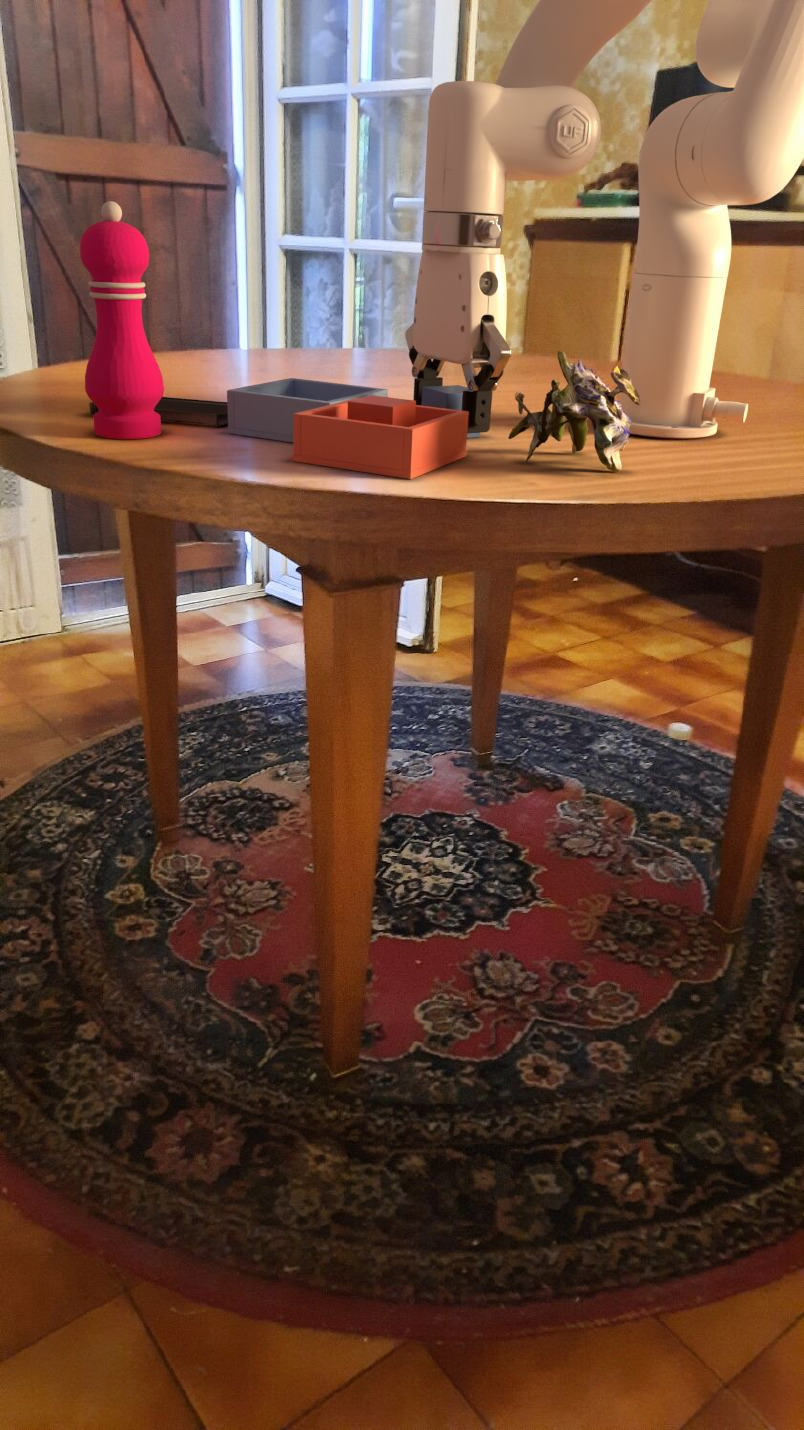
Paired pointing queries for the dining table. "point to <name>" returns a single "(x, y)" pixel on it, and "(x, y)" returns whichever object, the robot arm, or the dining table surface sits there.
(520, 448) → the dining table surface
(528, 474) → the dining table surface
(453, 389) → the blue block
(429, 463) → the red bin
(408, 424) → the red block
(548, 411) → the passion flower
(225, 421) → the phone
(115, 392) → the pepper mill
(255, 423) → the blue bin
